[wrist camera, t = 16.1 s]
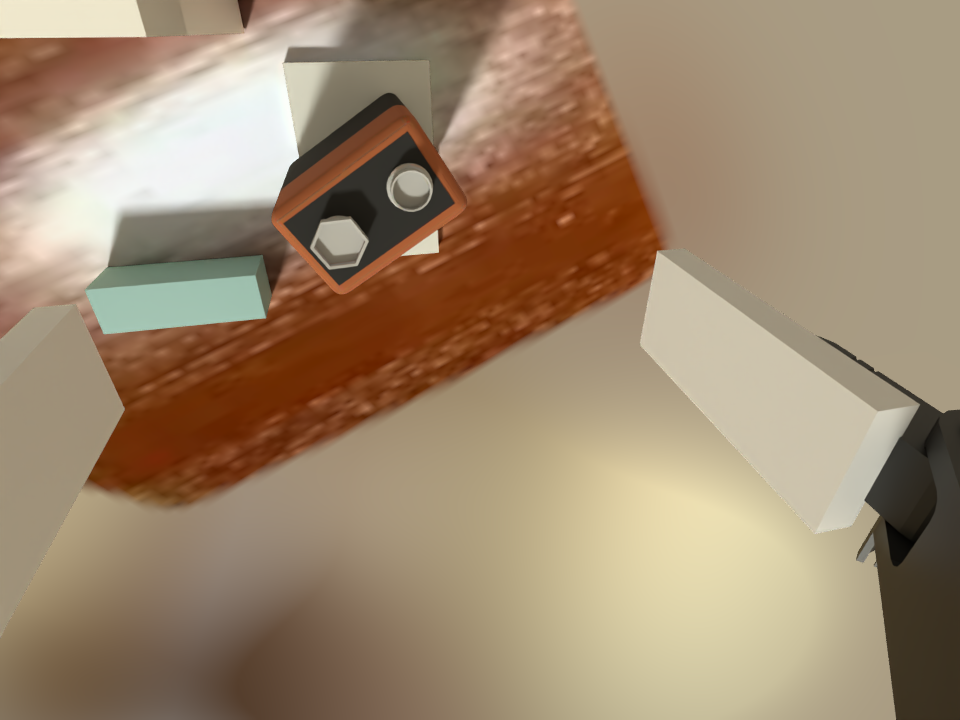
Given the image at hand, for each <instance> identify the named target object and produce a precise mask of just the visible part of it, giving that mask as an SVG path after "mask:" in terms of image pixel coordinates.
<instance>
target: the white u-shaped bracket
mask: <svg viewBox="0 0 960 720" xmlns="http://www.w3.org/2000/svg"><path fill="white" fill-rule="evenodd" d="M243 33H244V29H243V24H242V19H241V14H240V9H239V5H238V0H0V38H64V37H156V36H185V35H214V34H243Z"/></svg>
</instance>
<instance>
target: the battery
mask: <svg viewBox="0 0 960 720" xmlns="http://www.w3.org/2000/svg"><path fill="white" fill-rule="evenodd" d="M466 205H467V199H466V196H465V194H464V193H463V191H462V189H461V188H460V186H459V185H458V183H457V182H456V180H455V179H454V177H453V175H452V174H451V172H450V171H449V169H448V168H447V166H446V165H445V163H444V161H443V160H442V158H441V157H440V155H439V154H438V152H437V151H436V149H435V147H434V146H433V144H432V143H431V141H430V140H429V138H428V137H427V135H426V133H425V132H424V130H423V129H422V127H421V126H420V124H419V123H418V121H417V120H416V118H415V117H414V116H413V115H412V114H411V112H410V111H409V110H408V109H407V108H406V106H405V105H404V104H403V103H402V102H401V100H400V99H399V98H398V97H397V96H396V95H395V94H393V93H386V94H384V95H382V96H380V97H379V98H378V99H376V100H375V101H374V102H372V103H371V104H370V105H368V106H367V107H366V108H364V109H363V110H362V111H360V112H359V113H358V114H356V115H355V116H354V117H352V118H351V119H350V120H349V121H347V122H346V123H345V124H343V125H342V126H341V127H339V128H338V129H337V130H335V131H334V132H333V133H331V134H330V135H329V136H327V137H326V138H325V139H323V140H322V141H321V142H319V143H318V144H317V145H316V146H314V147H313V148H312V149H310V150H309V151H308V152H306V153H305V154H304V155H302V156H301V157H300V158H298V159H297V160H296V161H295V162H293V163H292V164H291V166H290V167H289V170H288V172H287V175H286V178H285V180H284V183H283V186H282V188H281V191H280V194H279V196H278V199H277V201H276V204H275V207H274V209H273V212H272V216H271V220H272V224H273V225H274V226H275V227H276V229H277V230H278V231H279V232H280V233H281V234H282V235H283V236H284V237H285V238H286V240H287V241H288V242H289V243H290V244H291V245H292V246H293V247H294V248H295V249H296V250H297V252H298V253H299V254H300V255H301V256H302V257H303V258H304V259H305V260H306V261H307V262H308V264H309V265H310V266H311V267H312V268H313V269H314V270H315V271H316V272H317V273H318V274H319V276H320V277H321V278H322V279H323V280H324V281H325V282H326V283H327V284H328V285H329V286H330V287H331V289H332V290H333V291H335V292H336V293H338V294H346V293H348V292H350V291H351V290H353V289H354V288H356V287H357V286H359V285H360V284H362V283H363V282H364V281H366V280H367V279H369V278H370V277H371V276H373V275H374V274H376V273H377V272H379V271H380V270H381V269H383V268H384V267H386V266H387V265H388V264H390V263H391V262H393V261H394V260H396V259H397V258H398V257H400V256H401V255H403V254H404V253H405V252H407V251H408V250H410V249H411V248H413V247H414V246H415V245H417V244H418V243H420V242H421V241H422V240H424V239H425V238H427V237H428V236H429V235H431V234H432V233H434V232H435V231H437V230H438V229H439V228H441V227H442V226H444V225H445V224H446V223H448V222H449V221H451V220H452V219H453V218H455V217H456V216H458V215H459V214H460V213H461V212H462V211H463V210H464V209H465V207H466Z"/></svg>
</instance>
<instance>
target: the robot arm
mask: <svg viewBox="0 0 960 720" xmlns="http://www.w3.org/2000/svg"><path fill="white" fill-rule="evenodd" d="M640 346H641V347H642V348H643V349H644V350H645V351H646V352H647V353H648V354H649V355H650V356H651V357H652V358H653V360H654V361H655V362H656V363H657V364H658V365H659V366H660V367H661V368H662V369H663V370H664V372H665V373H666V374H667V375H668V376H669V377H670V378H671V379H672V380H673V381H674V382H675V383H676V384H677V385H678V387H679V388H680V389H681V390H682V391H683V392H684V393H685V394H686V395H687V396H688V397H689V399H691V401H692V402H693V403H694V404H695V405H696V406H697V407H698V408H699V409H700V410H701V412H702V413H703V414H704V415H705V416H706V417H707V418H708V419H709V420H710V421H711V422H712V423H713V425H714V426H715V427H716V428H717V429H718V430H719V431H720V432H721V433H722V434H723V435H724V436H725V438H726V439H727V440H728V441H729V442H730V443H731V444H732V445H733V446H734V447H735V448H736V449H737V450H738V451H739V453H740V454H741V455H742V456H743V457H744V458H745V459H746V460H747V461H748V462H749V463H750V465H751V466H752V467H753V468H754V469H755V470H756V471H757V472H758V473H759V474H760V475H761V476H762V478H763V479H764V480H765V481H766V482H767V483H768V484H769V485H770V486H771V487H772V488H773V489H774V491H775V492H776V493H777V494H778V495H779V496H780V497H781V498H782V499H783V500H784V501H785V502H786V503H787V505H788V506H789V507H790V508H791V509H792V510H793V511H794V512H795V513H796V514H797V515H798V516H799V518H801V520H802V521H803V522H804V523H805V524H806V525H807V526H808V527H809V528H810V529H811V531H812V532H813V533H814V534H817V533H822V532H826V531H831V530H835V529H840V528H845V527H850V526H852V524H853V522H854V521H855V519H856V517H857V515H858V513H859V512H860V509H861V508H862V506H863V505H864V503H865V501H866V502H867V503H868V504H869V505H870V506H871V507H872V508H873V509H875V510H876V511H877V512H878V513H879V514H880V516H879V518H878V520H877V521H876V523H875V524H874V526H873V528H872V529H871V531H870V533H869V534H868V536H867V538H866V540H865V541H864V543H863V544H862V546H861V548H860V549H859V551H858V554H857V558H856V560H857V561H860V562H864V561H865V559H866V558H867V556H868V554H869V553H870V552H872V551H874V550H875V553H876V562H875V564H874V566H875V567H877V569H878V577H879V585H880V592H881V600H882V609H883V617H884V624H885V633H886V641H887V648H888V657H889V665H890V673H891V681H892V689H893V697H894V705H895V712H896V720H960V410H951V411H947V412H945V413H941V412H940V411H938V410H937V409H935V408H934V407H932V406H931V405H929V404H928V403H926V402H924V401H923V400H922V399H920V398H918V397H917V396H915V395H914V394H912V393H911V392H909V391H908V390H906V389H904V388H903V387H902V386H900V385H898V384H897V383H896V382H894V381H892V380H891V379H889V378H888V377H886V376H885V375H883V374H882V373H880V372H875V371H874V368H873V367H871V366H869V365H868V364H866V363H865V362H863V361H862V360H857V359H856V356H854V355H853V354H851V353H850V352H848V351H846V350H845V349H843V348H842V347H840V346H839V345H837V344H835V343H834V342H831V341H829V340H826V339H824V338H822V337H819V336H817V335H814V334H813V333H812V332H810V331H808V330H807V329H806V328H804V327H802V326H801V325H799V324H798V323H796V322H795V321H793V320H792V319H790V318H789V317H787V316H786V315H784V314H783V313H781V312H780V311H778V310H777V309H775V308H774V307H772V306H771V305H769V304H768V303H766V302H765V301H763V300H762V299H760V298H759V297H757V296H756V295H754V294H753V293H751V292H750V291H748V290H747V289H745V288H744V287H742V286H741V285H739V284H738V283H736V282H735V281H733V280H732V279H730V278H729V277H727V276H726V275H724V274H723V273H721V272H720V271H718V270H717V269H715V268H714V267H712V266H711V265H709V264H707V263H706V262H704V261H703V260H701V259H700V258H698V257H697V256H695V255H694V254H692V253H691V252H689V251H688V250H686V249H674V250H663V251H657V256H656V261H655V266H654V272H653V277H652V282H651V288H650V293H649V298H648V303H647V309H646V315H645V320H644V325H643V330H642V335H641V340H640ZM124 410H125V409H124V407H123V404H122V402H121V400H120V398H119V396H118V394H117V392H116V389H115V387H114V385H113V383H112V381H111V379H110V376H109V374H108V372H107V370H106V368H105V366H104V364H103V361H102V359H101V357H100V355H99V353H98V351H97V348H96V346H95V344H94V342H93V340H92V338H91V336H90V333H89V331H88V329H87V327H86V325H85V323H84V321H83V318H82V316H81V314H80V312H79V310H78V308H77V305H76V304H70V305H59V306H48V307H37V308H33V309H32V310H31V311H30V312H29V313H28V314H27V315H26V316H25V317H24V318H23V319H22V320H20V321H19V322H18V323H17V324H16V325H15V326H14V327H13V328H12V329H11V330H10V331H9V332H8V333H7V334H6V335H5V336H4V337H3V338H2V339H0V637H1V635H2V634H3V632H4V630H5V628H6V626H7V624H8V623H9V621H10V619H11V617H12V615H13V613H14V612H15V610H16V608H17V606H18V604H19V602H20V601H21V599H22V597H23V595H24V593H25V591H26V590H27V588H28V586H29V584H30V582H31V580H32V579H33V577H34V575H35V573H36V571H37V569H38V568H39V566H40V564H41V562H42V560H43V558H44V557H45V555H46V553H47V551H48V549H49V547H50V546H51V544H52V542H53V540H54V538H55V536H56V535H57V533H58V531H59V529H60V527H61V525H62V524H63V522H64V520H65V518H66V516H67V514H68V513H69V511H70V509H71V507H72V505H73V503H74V502H75V500H76V498H77V496H78V494H79V492H80V491H81V489H82V487H83V485H84V483H85V482H86V480H87V478H88V476H89V474H90V472H91V471H92V469H93V467H94V465H95V463H96V461H97V460H98V458H99V456H100V454H101V452H102V450H103V449H104V447H105V445H106V443H107V441H108V439H109V438H110V436H111V434H112V432H113V430H114V428H115V427H116V425H117V423H118V421H119V419H120V417H121V416H122V414H123V412H124Z"/></svg>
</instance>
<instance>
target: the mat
mask: <svg viewBox="0 0 960 720" xmlns="http://www.w3.org/2000/svg"><path fill="white" fill-rule="evenodd" d="M283 68H284V74H285V79H286V85H287V91H288V96H289V102H290V108H291V113H292V119H293V125H294V130H295V136H296V141H297V147H298V153H299V158H300V157H301V156H302V155H304V154H305V153H306V152H308V151H309V150H310V149H312V148H313V147H314V146H316V145H317V144H318V143H319V142H321V141H322V140H323V139H325V138H326V137H327V136H329V135H330V134H331V133H333V132H334V131H335V130H337V129H338V128H339V127H341V126H342V125H343V124H345V123H346V122H347V121H349V120H350V119H351V118H352V117H354V116H355V115H356V114H358V113H359V112H360V111H362V110H363V109H364V108H366V107H367V106H368V105H370V104H371V103H372V102H374V101H375V100H376V99H378V98H379V97H380V96H382V95H384V94H386V93H393V94H395V95H396V96H397V97H398V98H399V99H400V100H401V102H402V103H403V104H404V105H405V106H406V108H407V109H408V110H409V111H410V112H411V114H412V115H413V116H414V117H415V118H416V120H417V121H418V123H419V124H420V126H421V127H422V129H423V130H424V132H425V133H426V135H427V137H428V138H429V140H430V141H431V143H432V144H433V123H432V103H431V82H430V62H429V60H398V61H338V62H284V63H283ZM433 146H434V144H433ZM428 253H439V246H438V230H437V231H435V232H434V233H432V234H431V235H429V236H428V237H427V238H425V239H424V240H422V241H421V242H420V243H418V244H417V245H415V246H414V247H413V248H411V249H410V250H408V251H407V252H405V253H404V254H403V255H401V256H404V255H416V254H428Z"/></svg>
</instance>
